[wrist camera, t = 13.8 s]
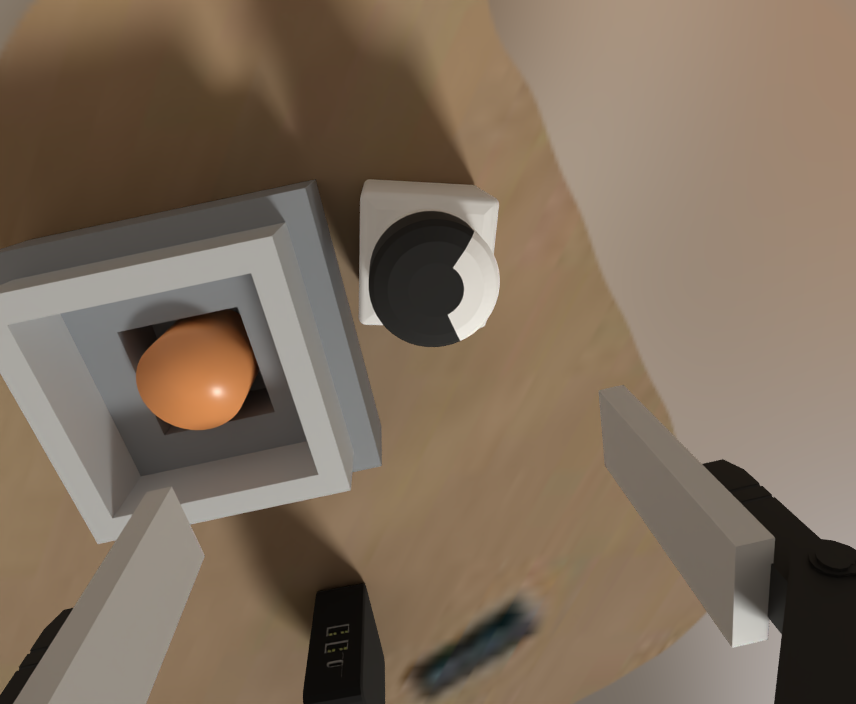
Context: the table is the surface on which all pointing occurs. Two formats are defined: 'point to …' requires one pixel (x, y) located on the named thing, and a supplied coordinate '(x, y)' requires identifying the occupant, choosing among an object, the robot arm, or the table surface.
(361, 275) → the medicine bottle
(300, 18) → the table surface
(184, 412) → the button
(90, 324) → the grey open box
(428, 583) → the table surface
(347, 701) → the electronic device
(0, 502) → the table surface
